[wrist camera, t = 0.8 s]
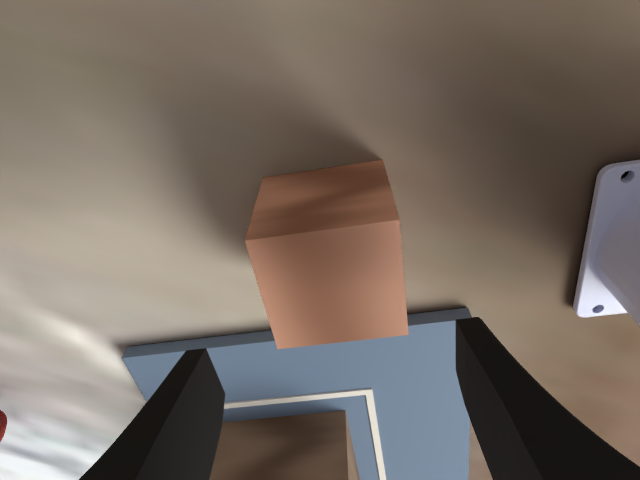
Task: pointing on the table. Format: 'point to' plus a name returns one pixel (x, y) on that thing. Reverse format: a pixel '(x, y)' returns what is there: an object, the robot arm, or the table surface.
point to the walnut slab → (286, 449)
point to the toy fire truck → (2, 424)
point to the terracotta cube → (329, 255)
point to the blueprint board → (345, 390)
